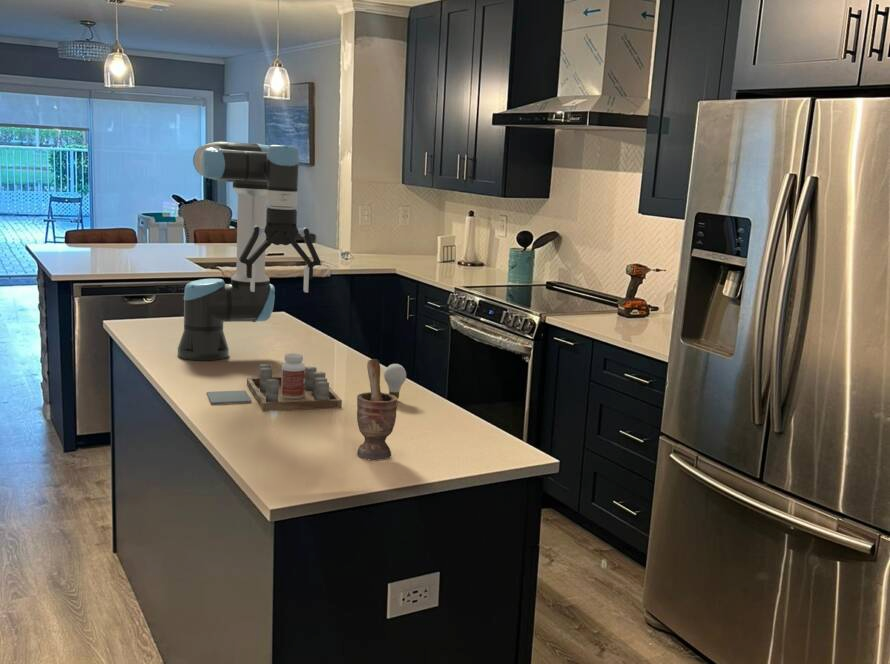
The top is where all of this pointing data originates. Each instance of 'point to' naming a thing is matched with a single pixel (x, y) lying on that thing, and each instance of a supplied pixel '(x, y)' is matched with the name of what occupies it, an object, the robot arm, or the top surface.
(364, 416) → the mortar and pestle
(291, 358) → the pill bottle
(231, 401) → the mat
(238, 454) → the top surface
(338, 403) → the tray
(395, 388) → the light bulb
